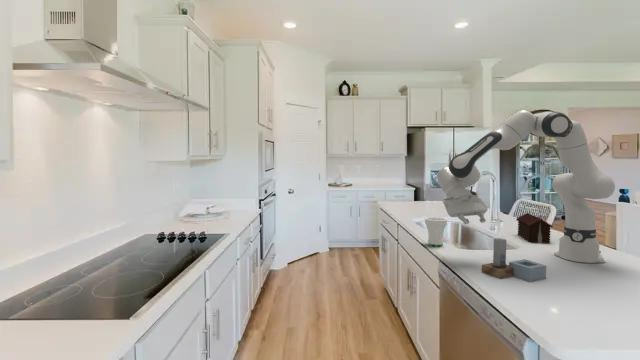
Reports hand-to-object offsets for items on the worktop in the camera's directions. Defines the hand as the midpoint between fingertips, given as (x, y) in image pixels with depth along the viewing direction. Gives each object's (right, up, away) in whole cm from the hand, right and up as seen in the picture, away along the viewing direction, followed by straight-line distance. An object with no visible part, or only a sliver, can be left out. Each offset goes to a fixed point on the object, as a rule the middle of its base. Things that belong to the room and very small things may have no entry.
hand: (475, 222), depth 153 cm
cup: (-6, -17, +36) cm, 40 cm away
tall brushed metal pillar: (+5, -19, -10) cm, 22 cm away
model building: (+54, -15, +48) cm, 74 cm away
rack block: (+14, -19, -13) cm, 28 cm away
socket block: (+5, -19, -10) cm, 22 cm away
